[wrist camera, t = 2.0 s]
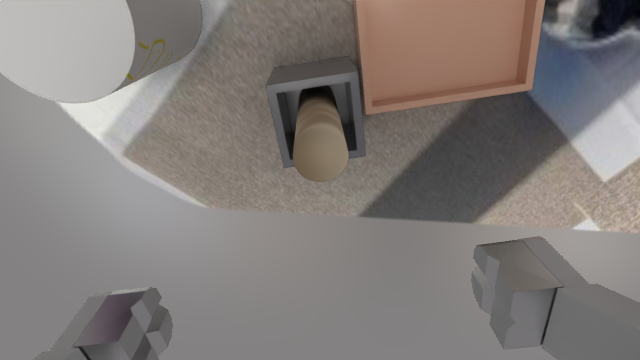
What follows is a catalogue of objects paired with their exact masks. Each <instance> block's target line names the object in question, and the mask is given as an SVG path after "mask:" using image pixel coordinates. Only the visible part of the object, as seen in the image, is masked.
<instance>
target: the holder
mask: <svg viewBox="0 0 640 360" xmlns="http://www.w3.org/2000/svg"><path fill="white" fill-rule="evenodd" d="M325 85H328V86H329V87H330V88H331V89H332V91H333V93H334V96H335V100H336V104H337V108H338V112H339V116H340V120H341V124H342V128H343V132H344V136H345V140H346V145H347V149H348V154H349V158H356V157H363V156H366V152H365V141H364V131H363V120H362V109H361V99H360V88H359V77H358V71H357V69H356V67H355V66H354V64H353V63H352V61H351V59H350V58H349V56H345V57H338V58H332V59H326V60H320V61H314V62H307V63H301V64H295V65H289V66H282V67H276V68H274V69H273V72H272V74H271V76H270V78H269V80H268V82H267V84H266V90H267V95H268V99H269V104H270V108H271V113H272V117H273V121H274V126H275V130H276V135H277V139H278V144H279V148H280V153H281V157H282V162H283V166H284V168H288V167H295V165H294V162H293V150H294V140H295V131H296V121H297V112H298V102H299V95H300V93H301V91H302V89H306V88H312V87H319V86H325ZM349 158H348V159H349Z"/></svg>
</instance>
